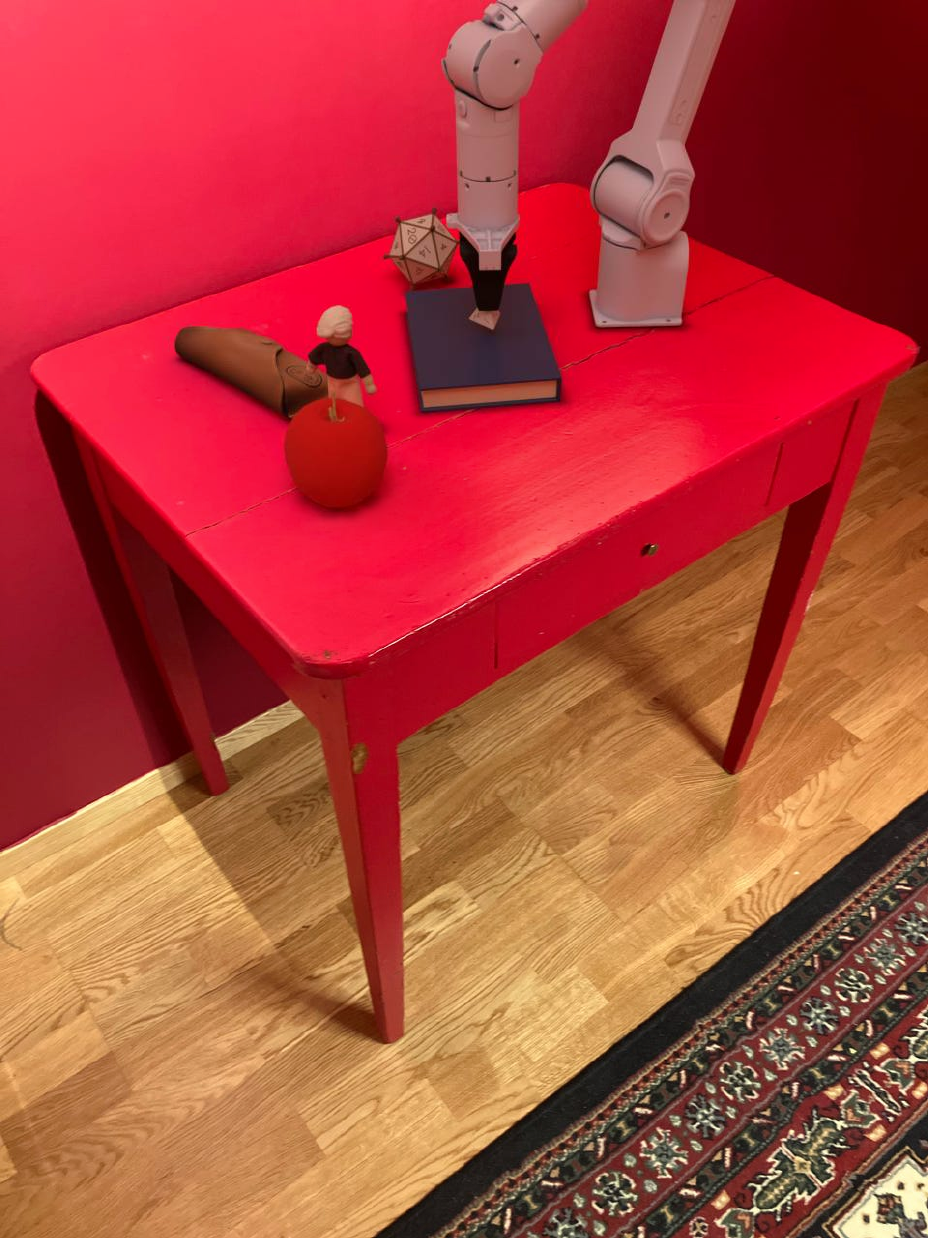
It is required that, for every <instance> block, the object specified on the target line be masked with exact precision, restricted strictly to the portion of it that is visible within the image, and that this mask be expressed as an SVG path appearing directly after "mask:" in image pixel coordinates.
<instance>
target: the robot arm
mask: <svg viewBox="0 0 928 1238" xmlns="http://www.w3.org/2000/svg"><path fill="white" fill-rule="evenodd" d="M736 1H737V0H673V3H672V6H671V9H670V13H669V16H668V18H667V22H666V25H665V28H664V31H663V33H662V37H661V40H660V43H659V46H658V49H657V53H656V55H655V58H654V61H653V65H652V68H651V71H650V74H649V77H648V80H647V83H646V87H645V89H644V93H643V96H642V98H641V102H640V104H639V107H638V111H637V114H636V118H635V120H634V123H633V127H632V129H630V130H629V131H627V132H626V133H624V134H622V135H621V136H619V137H618V138H616V139H614V140H613V141H612V142H611V144H610V147H609V150H608V153H607V156H606V158H605V159H604V161H603V162H602V164H601V166H600V167H599V168H598V169H597V171H596V172H595V174H594V176H593V179H592V181H591V185H590V188H589V189H590V190H589V199H590V205H591V206H592V209H593V210H594V211H595V212H596V213H597V214H598V215H599V219H598V225H599V226H600V228H601V235H600V247H599V258H598V259H599V260H598V271H597V272H598V273H597V285H596V286H597V287H596V289H591V290H589V292H588V296H589V300H590V306H591V310H592V316H593V320H594V325H595V327H597V328H631V327H635V328H636V327H678V326H682V323H683V319H682V313H683V308H684V302H685V301H684V300H685V294H686V287H687V279H688V273H689V264H690V247H689V246H690V243H689V238H688V234H687V232H686V231H683V230H682V228H683V226H684V224H685V223H686V220H687V218H688V215H689V212H690V196H691V189H692V186H693V182H694V180H695V177H696V173H695V169H694V167H693V164H692V162H691V160H690V159H691V158H690V157H689V155H688V152H687V149H686V146H685V144H686V142H687V139H688V136H689V133H690V131H691V128H692V125H693V122H694V119H695V116H696V114H697V111H698V108H699V105H700V102H701V99H702V97H703V94H704V92H705V88H706V86H707V84H708V83H707V82H708V80H709V77H710V75H711V71H712V69H713V66H714V62H715V60H716V58H717V55H718V52H719V49H720V46H721V43H722V40H723V39H724V38H723V37H724V35H725V32H726V29H727V27H728V23H729V21H730V19H731V18H730V17H731V15H732V12H733V9H734V7H735V4H736ZM588 2H589V0H497V1H496V2H495V3H490V4H489V5H488V6H487V7H486V8H485V9H484V12H483V14H484V15H483V16H482V18H481V19H474V20H473V22H472V21H467V22H466V23H464V24H463V25H461V26H460V27H459V28H458V29H457V30H456V31H455V33H454V34H453V35H452V37H451V39H450V41H449V43H448V46H447V50H446V55H445V57H443V58H441V60H440V63H441V71H442V73H443V76H444V78H445V80H446V81H447V83H448V84H449V85H450V87H451V88H452V90H453V97H454V98H453V99H454V100H453V102H454V106H455V136H456V139H455V141H456V174H457V176H456V179H457V212H452V213H447V214H446V216H445V217H446V218H445V221H446V222H445V223H446V226H445V227H446V228H447V229H450V230H454V229H455V230H458V241H459V240H460V241H461V242H459V244H458V245H459V247H458V249H459V256H460V258H461V260H462V262H463V264H464V265H465V267H466V269H467V272H468V274H469V277H470V280H471V284H472V285H471V286H472V287H473V291H474V296H475V301H476V305H477V308H478V311H498V309H499V306H500V303H501V299H502V294H503V289H504V284H506V279H507V277H508V273H509V272H510V269H511V268H512V265H513V263H514V262H515V260H516V258H517V255H518V253H519V252H518V244H517V243H515V241H516V239H517V231H518V229H519V227H520V219H521V218H520V216H521V215H520V214H519V213H518V212H519V211H518V210H519V209H518V208H519V207H518V206H519V156H520V153H519V151H520V148H519V147H520V104H521V103H520V101H521V99H523V98H524V97H526V96H527V94H528V92H529V91H530V89H531V87H532V84H533V81H534V78H535V73H536V69H537V67H538V66H539V64H540V63H541V62H542V58H543V56H544V54H545V53H546V52H547V51H548V50H549V49H550V48H552V46H553V45H554V44H555V43H556V41H558V39H559V38H560V37H561V36H562V35H563V34H564V33H565V32H566V31H567V30H568V29H569V28H570V27H571V26H572V25H573V24H574V22H575V21H576V20H577V19H578V18H579V17H580V16H581V15H582V14H583V12H584V11H586V9H587V7H588Z"/></svg>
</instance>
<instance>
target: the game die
mask: <svg viewBox="0 0 928 1238" xmlns="http://www.w3.org/2000/svg"><path fill="white" fill-rule="evenodd" d="M437 211H438V209H437V205H435V206H433V208H432V210H431V213H427V214H424V215H421V216H416V217H412V218H408V219H404V220H401V218H400V216H398V215H397V216H396V215H394V221H395V222H396V223H398V225H397V227H396V230H395V234H394V237H393V240H392V243H391V246H390V250H389V253H388V254H387V253H386V254H383V255H382V256H381V259H383V260H388V259H390V261H391V262H392V263H393V264H394V265H395V266H396V268H397V269H398V270H399V271H400V272H401V274H402V275H403V276H404V277H405V278H406V280H407V281H408V282H409V283H410V287H409V291H415V286H416V285H420V284H423V283H427V282H431V281H435V280H438V279H442V278H444V280H445V281H446V282H451V277H450V276H449V275H448V272H449V270H450V268H451V267H450V266H451V265H452V262H453V258H454V256H455V253H456V250H457V248H458V245H459V242H461V241H460V240H459V239H458V240H457V239H456V237H454V236H453V234H452V233H451V232H450V231H449V230H448V228H447V226H445V225H444V223H443V222H442V221H441V220H440V219H439V217H438V216H437V215H436V213H437Z"/></svg>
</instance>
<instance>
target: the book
mask: <svg viewBox="0 0 928 1238" xmlns="http://www.w3.org/2000/svg"><path fill="white" fill-rule="evenodd" d="M404 298H405V304H406V311H407V312H405V318H406V324H407V331H408V337H409V343H410V348H411V350H410V351H411V355H412V364H413V367H414V368H413V369H414V375H415V382H416V388H417V395H418V400H419V407H420V413H421V414H425V413H438V412H439V413H440V412H450V411H462V410H463V411H464V410H476V409H487V408H488V409H489V408H498V407H499V408H500V407H501V408H502V407H512V406H514V407H515V406H524V405H537V404H551V403H561V400H562V384H563V383H562V382H563V376H562V374H561V371H560V368H559V366H558V362H557V360H556V356H555V353H554V350H553V348H552V345H551V342H550V339H549V336H548V334H547V330H546V327H545V324H544V322H543V319H542V316H541V313H540V310H539V308H538V307H539V306H538V304H537V302H536V299H535V296H534V293H533V291H532V288H531V284H530V282H520V283H507V284H506V283H505V284H504V289H503V294H502V299H501V303H500V306H499V309H498V311H499V312H500V316H499V318H498V320H497V322H496V325H495V327H494V329H493V330H492V329H490V328H488V327H485V326H483V325H481V324H479V323H476V322H474V321H472V320H470V319H469V317H470V316H471V315H472V314H473V312H474V311H475V310H476V309H477V305H476V301H475V296H474V291H473V286H465V287H464V286H463V287H453V288H452V287H451V288H439V289H436V288H435V289H425V290H413V291H410V290H407V291H404Z"/></svg>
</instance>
